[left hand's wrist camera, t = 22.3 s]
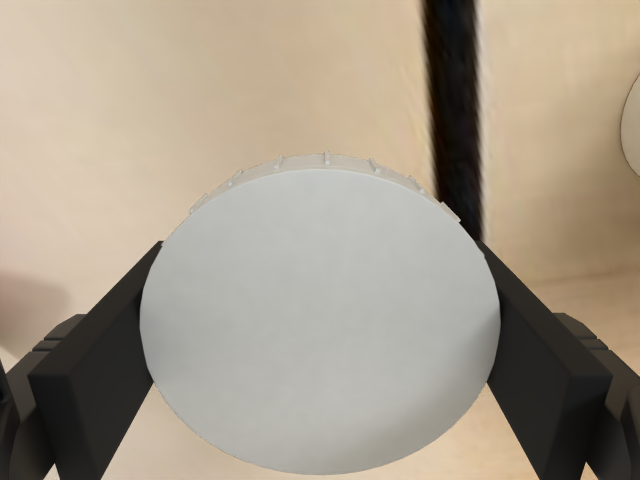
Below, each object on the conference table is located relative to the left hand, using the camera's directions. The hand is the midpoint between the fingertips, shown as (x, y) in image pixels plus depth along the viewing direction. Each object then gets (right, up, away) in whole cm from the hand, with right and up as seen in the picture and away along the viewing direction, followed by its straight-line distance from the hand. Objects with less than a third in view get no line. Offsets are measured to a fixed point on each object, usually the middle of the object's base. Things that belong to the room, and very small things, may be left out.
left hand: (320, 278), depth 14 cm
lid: (0, -1, -3) cm, 3 cm away
